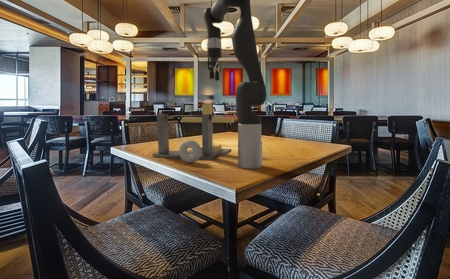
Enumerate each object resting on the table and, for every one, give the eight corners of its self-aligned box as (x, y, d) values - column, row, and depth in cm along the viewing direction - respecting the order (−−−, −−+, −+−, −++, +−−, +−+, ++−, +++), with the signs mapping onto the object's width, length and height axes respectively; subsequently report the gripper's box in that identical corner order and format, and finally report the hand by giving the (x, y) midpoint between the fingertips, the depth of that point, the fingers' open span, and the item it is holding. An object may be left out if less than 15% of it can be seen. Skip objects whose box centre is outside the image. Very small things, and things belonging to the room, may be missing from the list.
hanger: (235, 149, 139) (235, 103, 136) (230, 153, 130) (230, 103, 127) (187, 147, 147) (186, 104, 144) (179, 150, 138) (178, 104, 135)
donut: (178, 163, 112) (177, 140, 110) (181, 161, 115) (180, 139, 114) (200, 164, 109) (199, 140, 108) (202, 162, 113) (202, 139, 111)
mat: (231, 150, 142) (231, 149, 142) (223, 155, 129) (223, 153, 129) (197, 148, 148) (197, 147, 148) (186, 153, 134) (186, 151, 134)
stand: (217, 156, 126) (217, 113, 124) (210, 160, 117) (210, 114, 114) (162, 153, 135) (161, 113, 132) (152, 156, 126) (150, 114, 123)
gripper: (216, 44, 130) (217, 78, 132) (225, 50, 143) (225, 80, 145) (202, 46, 132) (203, 78, 134) (212, 51, 145) (212, 81, 147)
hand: (214, 79), depth 140 cm, fingers open, 8 cm apart
